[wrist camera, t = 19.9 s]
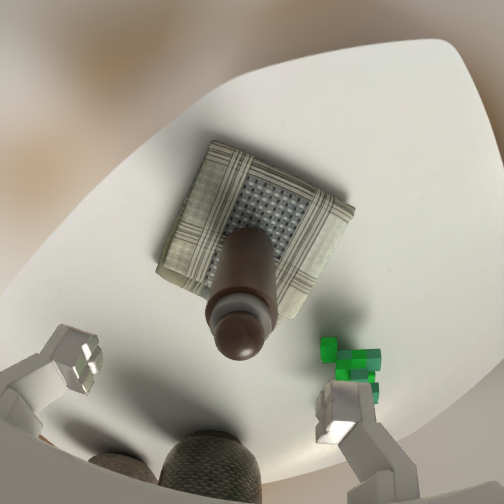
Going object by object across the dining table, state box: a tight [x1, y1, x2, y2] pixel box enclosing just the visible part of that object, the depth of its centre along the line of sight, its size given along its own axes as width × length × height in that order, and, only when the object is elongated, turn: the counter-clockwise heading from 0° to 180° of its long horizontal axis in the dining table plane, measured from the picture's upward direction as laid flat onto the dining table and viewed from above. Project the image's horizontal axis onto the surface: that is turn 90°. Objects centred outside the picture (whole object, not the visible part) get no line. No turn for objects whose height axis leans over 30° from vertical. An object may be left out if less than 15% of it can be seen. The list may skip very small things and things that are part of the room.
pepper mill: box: [205, 227, 278, 361], centre depth 28 cm, size 6×6×16 cm
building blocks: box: [320, 337, 381, 404], centre depth 42 cm, size 20×13×13 cm, turn 25°
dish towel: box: [155, 140, 355, 325], centre depth 36 cm, size 19×18×3 cm
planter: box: [157, 431, 262, 504], centre depth 48 cm, size 20×20×19 cm
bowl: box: [88, 453, 158, 485], centre depth 60 cm, size 21×21×10 cm
